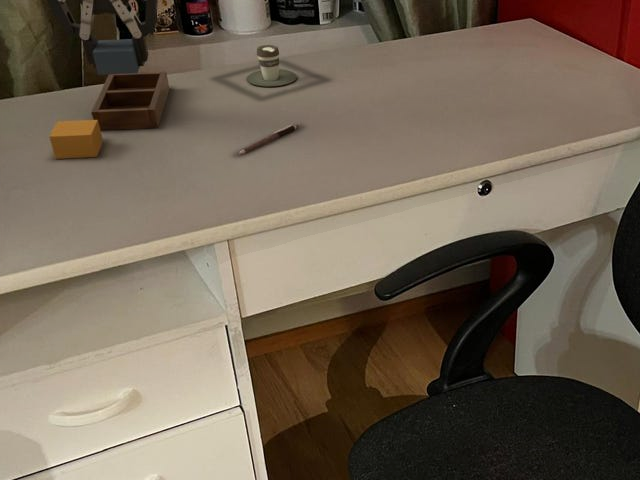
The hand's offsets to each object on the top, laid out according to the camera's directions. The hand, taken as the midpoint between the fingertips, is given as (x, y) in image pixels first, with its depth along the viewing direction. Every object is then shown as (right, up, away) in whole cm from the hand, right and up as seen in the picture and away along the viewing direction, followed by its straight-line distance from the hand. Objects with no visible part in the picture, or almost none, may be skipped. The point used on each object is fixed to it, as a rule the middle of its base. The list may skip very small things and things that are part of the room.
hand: (119, 64), depth 116 cm
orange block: (-3, -13, -5) cm, 14 cm away
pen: (+20, -11, 0) cm, 23 cm away
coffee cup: (+16, +4, +18) cm, 25 cm away
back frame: (-1, -4, +7) cm, 8 cm away
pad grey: (0, 0, 0) cm, 0 cm away
